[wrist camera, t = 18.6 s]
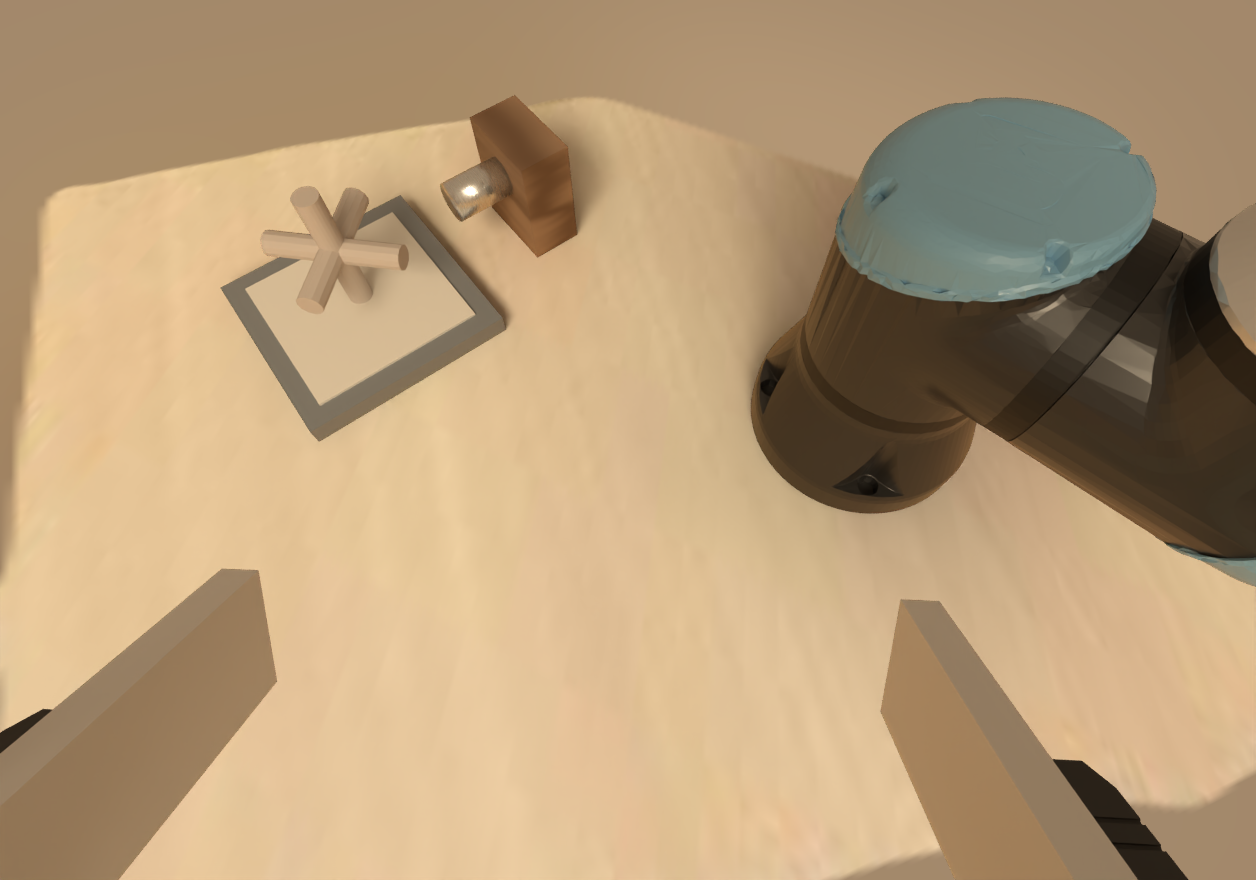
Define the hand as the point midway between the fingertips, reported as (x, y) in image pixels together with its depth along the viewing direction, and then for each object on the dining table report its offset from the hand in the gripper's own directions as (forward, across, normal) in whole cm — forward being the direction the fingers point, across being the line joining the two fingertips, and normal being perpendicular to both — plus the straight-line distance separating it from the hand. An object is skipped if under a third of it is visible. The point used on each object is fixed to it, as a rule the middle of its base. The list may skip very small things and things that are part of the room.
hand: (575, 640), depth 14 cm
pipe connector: (+41, -21, +1) cm, 46 cm away
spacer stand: (+44, -18, +2) cm, 47 cm away
